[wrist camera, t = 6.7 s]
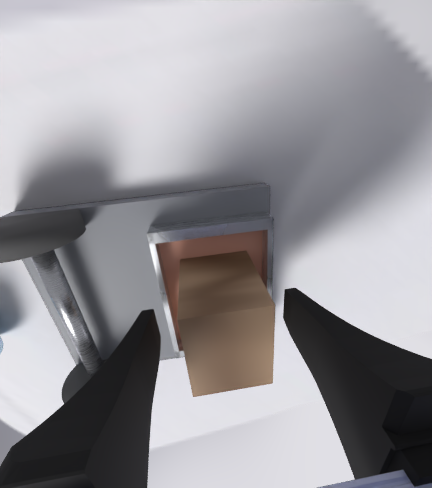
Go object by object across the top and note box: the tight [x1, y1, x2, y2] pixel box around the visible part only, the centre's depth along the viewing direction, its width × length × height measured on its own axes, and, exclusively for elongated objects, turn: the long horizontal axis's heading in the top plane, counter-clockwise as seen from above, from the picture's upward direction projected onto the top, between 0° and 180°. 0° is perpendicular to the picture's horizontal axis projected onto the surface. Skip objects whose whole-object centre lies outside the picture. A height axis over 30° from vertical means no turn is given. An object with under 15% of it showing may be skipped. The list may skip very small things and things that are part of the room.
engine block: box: [177, 251, 275, 397], centre depth 13 cm, size 4×5×5 cm
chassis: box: [0, 183, 273, 404], centre depth 14 cm, size 14×12×4 cm
